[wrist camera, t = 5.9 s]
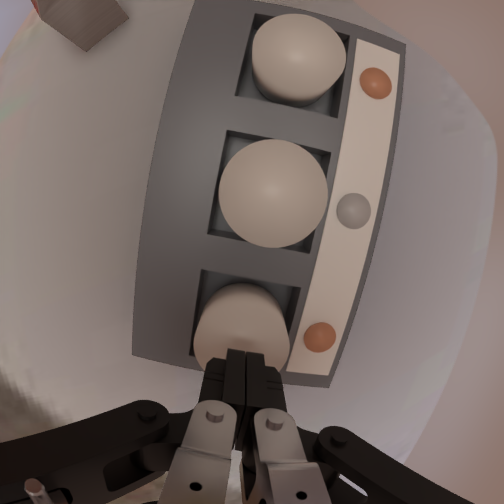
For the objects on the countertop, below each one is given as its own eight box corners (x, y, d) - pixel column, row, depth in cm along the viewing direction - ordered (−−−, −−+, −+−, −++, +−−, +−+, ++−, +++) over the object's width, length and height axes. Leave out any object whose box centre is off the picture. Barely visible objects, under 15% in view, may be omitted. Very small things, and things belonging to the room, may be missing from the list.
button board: (203, 18, 15) (196, -8, 12) (386, 60, 16) (408, 42, 13) (145, 332, 20) (130, 357, 16) (319, 362, 20) (329, 390, 17)
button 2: (259, 31, 14) (262, 6, 11) (335, 49, 14) (350, 27, 12) (244, 97, 15) (243, 80, 12) (324, 115, 15) (339, 102, 12)
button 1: (208, 275, 16) (200, 296, 13) (291, 290, 16) (300, 313, 13) (197, 347, 17) (189, 377, 14) (272, 360, 17) (277, 391, 14)
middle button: (233, 140, 15) (230, 129, 12) (320, 158, 15) (337, 153, 12) (216, 226, 16) (209, 236, 13) (302, 243, 16) (314, 256, 13)
